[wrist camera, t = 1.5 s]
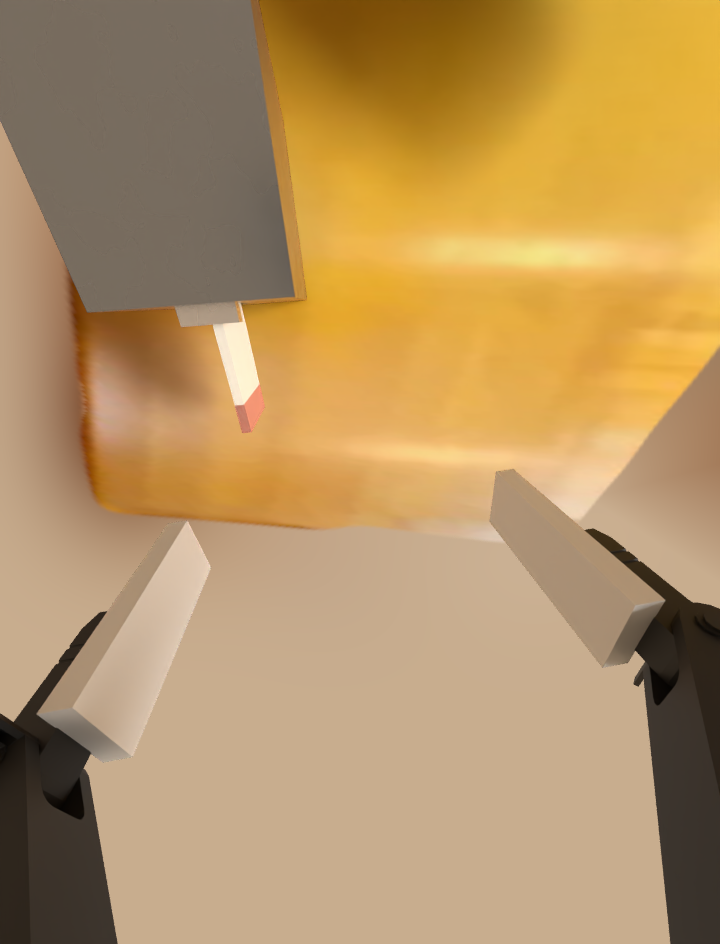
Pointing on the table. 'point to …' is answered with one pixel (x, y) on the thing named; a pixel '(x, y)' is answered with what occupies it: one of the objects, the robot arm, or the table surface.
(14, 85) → the dispenser
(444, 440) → the table surface
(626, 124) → the table surface
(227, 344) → the pink-tipped white stick
